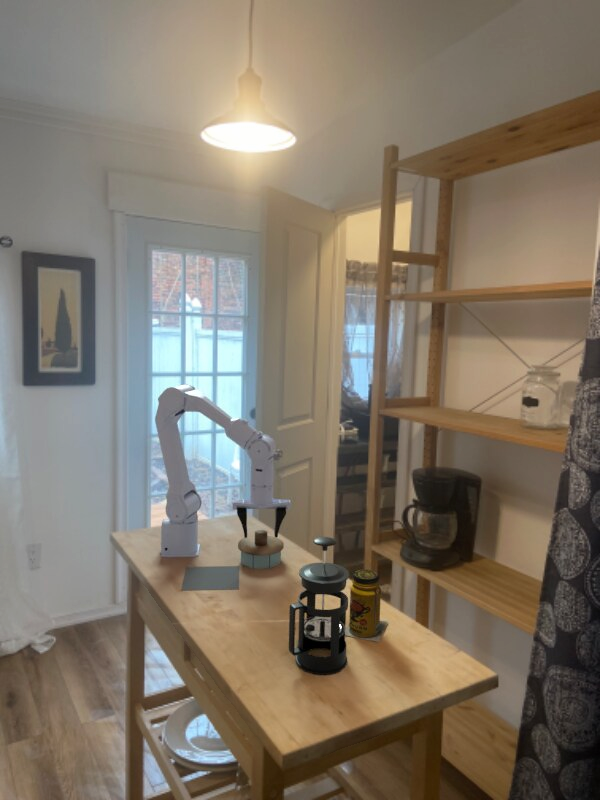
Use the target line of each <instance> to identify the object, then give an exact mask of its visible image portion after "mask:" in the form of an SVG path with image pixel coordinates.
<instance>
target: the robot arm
mask: <svg viewBox="0 0 600 800" xmlns="http://www.w3.org/2000/svg"><path fill="white" fill-rule="evenodd" d="M162 391H163V392H162V393H161V394H160V395H159V396H158V397H157V401H158V406H157V409H156V413H155V417H154V421H155V422H154V423H155V427H156V431H157V436H158V441H159V446H160V450H161V455H162V458H163V465H164V469H165V473H166V478H167V481H168V482H167V483H168V489H167V491H166V494H165V499H166V505H165V514H166V517H167V518H163V519H162V520H161V521H162V522H161V527H160V528H161V531H160V536H161V537H160V541H161V542H160V551H161V552H160V553H161V554H160V557H161V558H191V557H192V558H195V557H199V555H200V549H201V544H200V543H198V542H199V540H198V538H199V537H198V536H199V526H198V525H199V524H198V523H199V519H198V518H199V515H198V511H199V510H200V509H201V507H202V502H203V501H202V498H201V495H200V493H198V491H197V488H196V484H195V483H193V482H192V481H191V480H190V475H189V472H188V470H189V469H188V467H187V463H186V458H185V453H184V448H183V443H182V439H181V435H180V430H179V425H178V422H179V420H181V418H182V417H183V416H184V414H185V413H186V412H187V413H188V412H190V413H194V412H195V413H200V414H202V415H203V416H205V417H206V418H207V419H209V420H211V421H212V422H214V423H215V424H216V425H218V426H220V427H221V428H223V429H224V431H225V436H226V437H227V438H228V439H229V440H231V441H232V442H234V443H235V444H236V445H238V446H239V447H240V448H242V449H243V450H244V451H246V452H247V455H248V458H249V459H250V461H251V463H250V498H245V499H244V498H243V499H233V500H232V511H235V510H236V514H237V517H238V518H239V521H240V523H241V527H242V530H243V535H244V538H247V537H248V523H247V522H248V520H247V519H248V510H259V509H260V510H262V509H263V510H267V509H268V510H269V509H271V510H273V509H274V510H275V512H274V513H275V516H274V517H275V521H274V522H275V523H274V534H273V535H274V537H276V538H278V537H279V536H278V535H279V531H280V529H281V525H282V523H283V521H284V519H285V518H286V515H287V511H288V510H291V499H278V498H274V477H275V476H274V474H275V473H274V471H275V470H274V469H275V466H274V455H275V454H276V452H277V442H276V441H275V439H274V438H273V437H272V436H271V435H269V434H264V432H262V431H261V430H257V429H256V428H254V427H253V426H252V425H250V424H249V420H247V419H246V418H243V419H242V418H241V417H236V418H233V417H232V416H231V415H229V414H228V413H227V412H226V411H224V410H223V409H222V408H220V406H219V405H217V404H216V403H214V402H213V401H212V400H211V399H210V398H208V397H207V396H206V394H204V392H203V391H201V390H200V389H196V387H195V386H193V385H192V384H189V383H183V384H181V385H177V386H171V387H167V388H166V389H164V390H162Z"/></svg>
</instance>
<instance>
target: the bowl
mask: <svg viewBox="0 0 600 800" xmlns="http://www.w3.org/2000/svg"><path fill="white" fill-rule="evenodd" d="M281 559H282V550H281V551H280V552H278V553H275V554H271V555H250V554H246V553H244V552H242V551H240V564H241V565H243V566H246V567H248V568H251V569H272V568H273V567H276V566H278V565H280V564H281V562H282V561H281Z"/></svg>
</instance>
